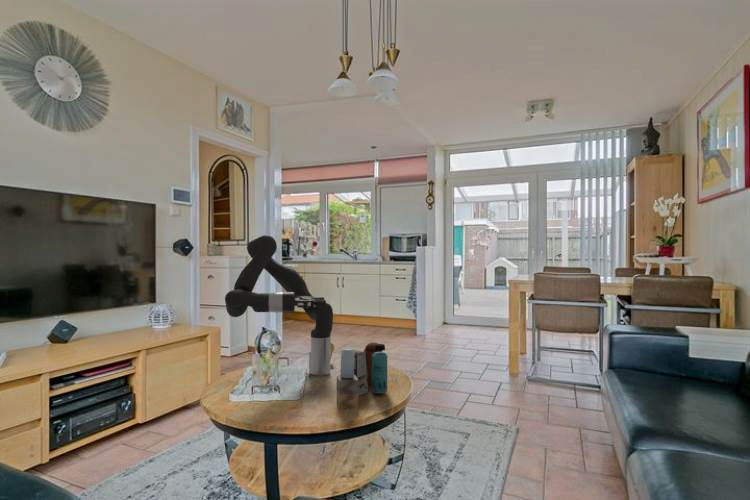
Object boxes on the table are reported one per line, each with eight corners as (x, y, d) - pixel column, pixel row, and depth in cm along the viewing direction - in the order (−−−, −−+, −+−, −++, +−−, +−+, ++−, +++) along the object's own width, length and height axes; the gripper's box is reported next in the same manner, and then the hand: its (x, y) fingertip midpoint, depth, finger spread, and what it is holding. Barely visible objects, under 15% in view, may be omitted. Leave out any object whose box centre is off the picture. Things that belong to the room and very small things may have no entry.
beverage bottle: (371, 391, 169) (371, 342, 169) (387, 391, 168) (388, 342, 169) (370, 397, 162) (371, 346, 162) (387, 397, 162) (388, 346, 162)
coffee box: (368, 392, 167) (368, 352, 168) (357, 396, 163) (357, 355, 163) (352, 387, 174) (352, 349, 174) (341, 391, 169) (341, 351, 169)
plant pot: (335, 361, 216) (335, 342, 216) (332, 366, 206) (332, 346, 206) (315, 360, 217) (316, 341, 217) (311, 365, 207) (311, 346, 207)
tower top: (339, 395, 150) (339, 381, 150) (336, 388, 157) (336, 375, 157) (358, 393, 152) (358, 379, 152) (354, 387, 159) (354, 374, 159)
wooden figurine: (388, 386, 175) (388, 343, 175) (376, 389, 171) (376, 346, 171) (370, 379, 184) (370, 339, 184) (359, 382, 180) (359, 341, 180)
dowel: (337, 376, 154) (338, 349, 155) (347, 375, 158) (348, 348, 159) (346, 378, 151) (347, 350, 152) (356, 377, 154) (357, 349, 156)
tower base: (339, 408, 150) (339, 395, 150) (336, 402, 157) (336, 388, 157) (358, 407, 151) (358, 393, 152) (354, 400, 158) (354, 387, 158)
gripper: (281, 294, 148) (326, 293, 151) (282, 290, 162) (323, 289, 165) (281, 315, 148) (326, 313, 151) (282, 309, 162) (323, 308, 165)
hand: (324, 301), depth 158 cm, fingers open, 8 cm apart
